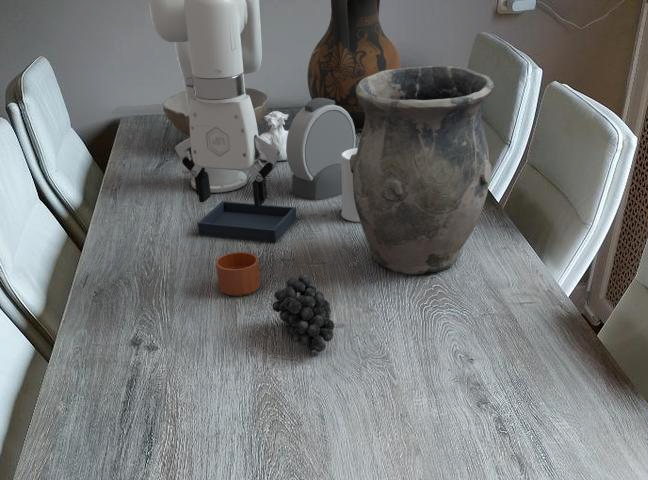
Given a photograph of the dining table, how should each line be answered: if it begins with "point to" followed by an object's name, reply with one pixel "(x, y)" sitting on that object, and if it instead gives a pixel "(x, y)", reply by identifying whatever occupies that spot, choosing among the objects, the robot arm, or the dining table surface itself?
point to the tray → (247, 221)
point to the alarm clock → (319, 148)
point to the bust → (276, 134)
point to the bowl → (180, 116)
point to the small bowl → (238, 273)
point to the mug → (348, 188)
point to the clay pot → (421, 164)
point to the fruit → (305, 313)
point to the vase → (350, 55)
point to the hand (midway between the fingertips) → (232, 201)
